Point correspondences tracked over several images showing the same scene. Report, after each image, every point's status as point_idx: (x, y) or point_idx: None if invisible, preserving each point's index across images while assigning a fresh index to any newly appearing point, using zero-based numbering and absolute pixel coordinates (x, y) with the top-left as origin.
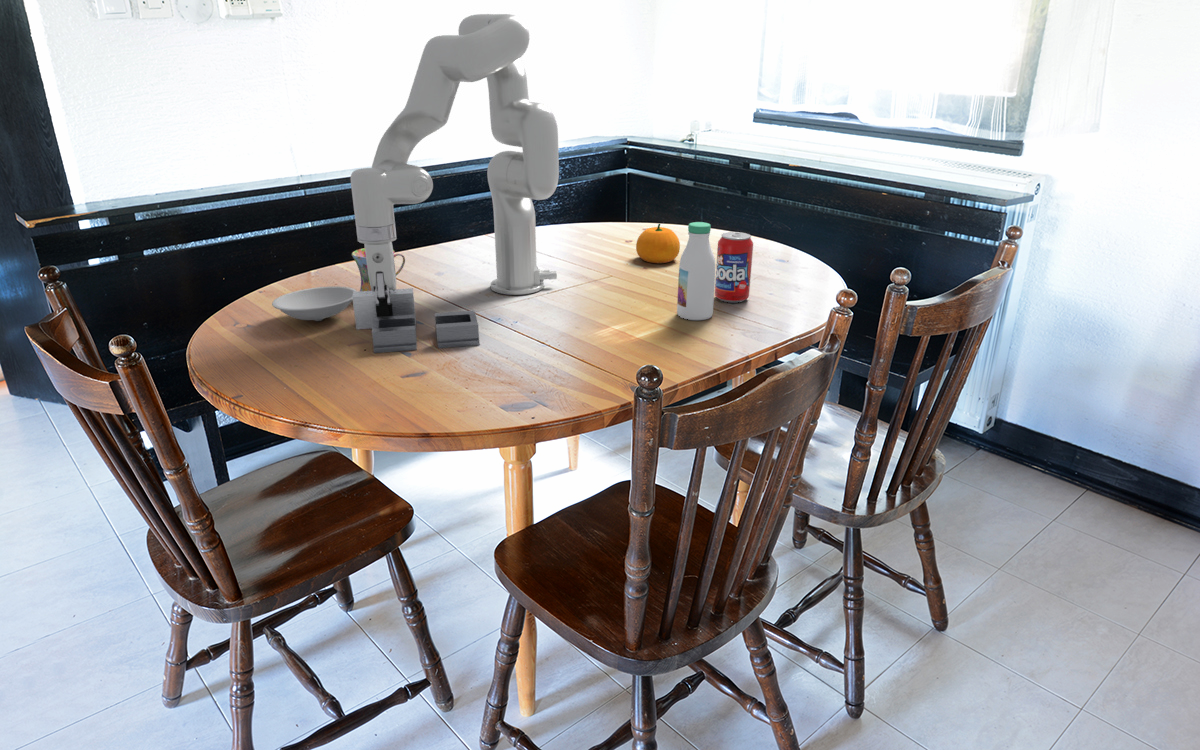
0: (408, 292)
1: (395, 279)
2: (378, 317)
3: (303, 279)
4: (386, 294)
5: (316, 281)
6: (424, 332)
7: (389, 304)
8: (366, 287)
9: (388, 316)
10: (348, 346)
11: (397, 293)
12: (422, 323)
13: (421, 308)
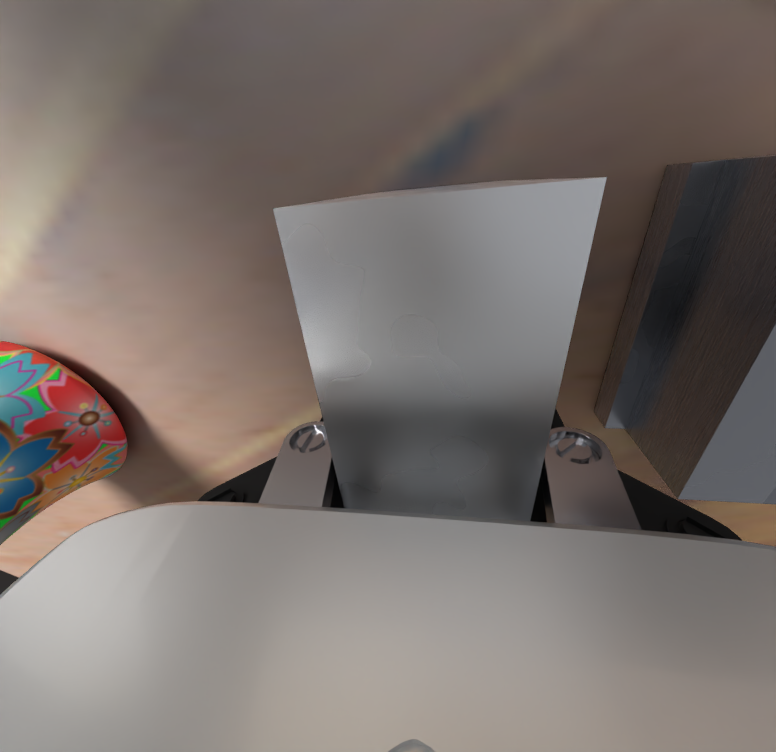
0: (521, 275)
1: (684, 741)
2: (704, 474)
3: (17, 567)
4: (517, 519)
5: (14, 548)
6: (711, 79)
7: (591, 442)
8: (66, 488)
9: (727, 415)
10: (697, 503)
11: (522, 425)
12: (465, 126)
13: (143, 167)
